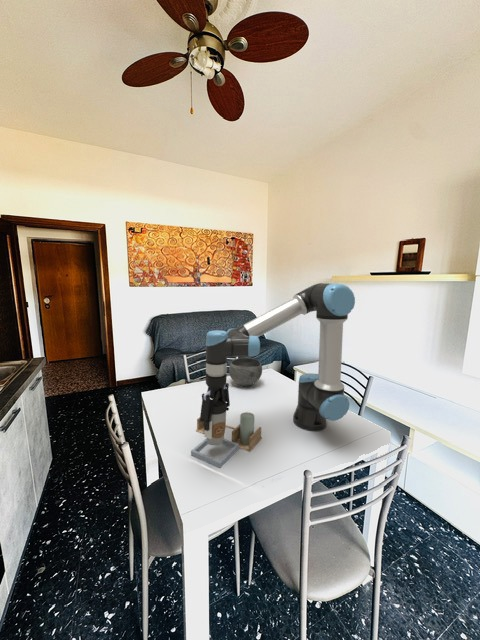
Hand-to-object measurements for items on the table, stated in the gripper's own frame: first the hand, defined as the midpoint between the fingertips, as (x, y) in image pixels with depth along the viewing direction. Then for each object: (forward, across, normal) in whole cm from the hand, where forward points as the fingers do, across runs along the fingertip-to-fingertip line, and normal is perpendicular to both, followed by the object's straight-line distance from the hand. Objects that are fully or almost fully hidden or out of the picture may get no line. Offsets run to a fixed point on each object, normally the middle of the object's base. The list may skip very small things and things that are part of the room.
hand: (215, 431), depth 99 cm
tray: (+9, 0, 0) cm, 9 cm away
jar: (+8, -12, +7) cm, 16 cm away
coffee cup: (+4, 0, 0) cm, 4 cm away
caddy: (+9, -12, -2) cm, 15 cm away
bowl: (+9, -66, -24) cm, 71 cm away
